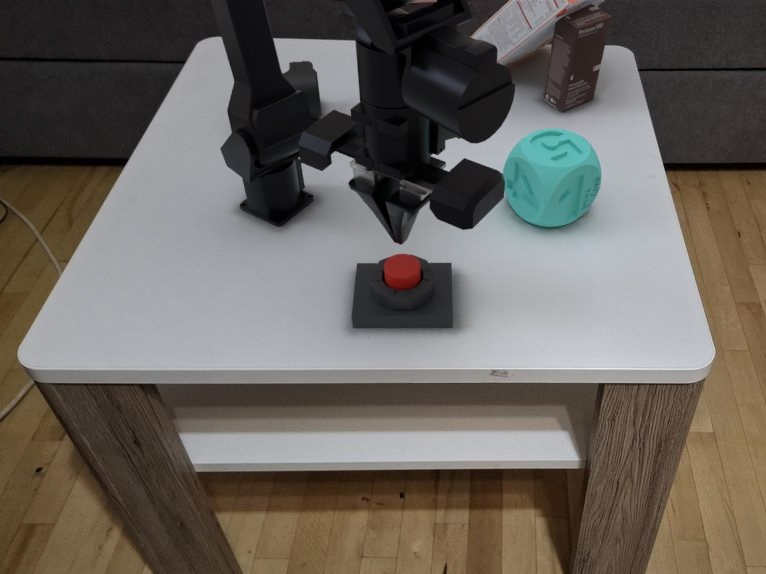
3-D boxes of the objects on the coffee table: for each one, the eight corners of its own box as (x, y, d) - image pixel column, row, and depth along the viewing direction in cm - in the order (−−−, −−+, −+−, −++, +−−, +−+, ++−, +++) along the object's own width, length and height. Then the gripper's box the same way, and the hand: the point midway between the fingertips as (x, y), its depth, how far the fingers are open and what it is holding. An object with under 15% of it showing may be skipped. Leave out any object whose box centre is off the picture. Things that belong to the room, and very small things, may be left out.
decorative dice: (542, 237, 84) (550, 177, 78) (499, 201, 89) (504, 141, 83) (596, 212, 87) (608, 152, 81) (552, 178, 92) (560, 120, 86)
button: (384, 290, 74) (383, 277, 73) (385, 266, 77) (384, 253, 76) (420, 290, 74) (420, 277, 73) (420, 266, 77) (420, 253, 75)
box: (563, 114, 101) (577, 27, 92) (541, 99, 104) (553, 13, 95) (596, 101, 104) (613, 14, 95) (574, 86, 106) (589, 1, 97)
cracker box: (525, 11, 113) (623, -71, 95) (543, 48, 114) (644, -26, 96) (459, 41, 107) (550, -41, 89) (479, 80, 108) (573, 7, 90)
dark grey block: (248, 136, 100) (238, 88, 94) (248, 108, 104) (239, 62, 99) (323, 129, 100) (317, 82, 95) (320, 102, 105) (315, 55, 100)
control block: (352, 328, 75) (349, 303, 73) (358, 274, 81) (355, 249, 78) (452, 328, 75) (453, 303, 72) (451, 274, 80) (451, 249, 78)
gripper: (545, 80, 61) (527, 231, 73) (363, 24, 69) (373, 169, 80) (472, 144, 55) (466, 297, 67) (282, 75, 63) (305, 224, 74)
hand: (400, 241), depth 72 cm, fingers closed
